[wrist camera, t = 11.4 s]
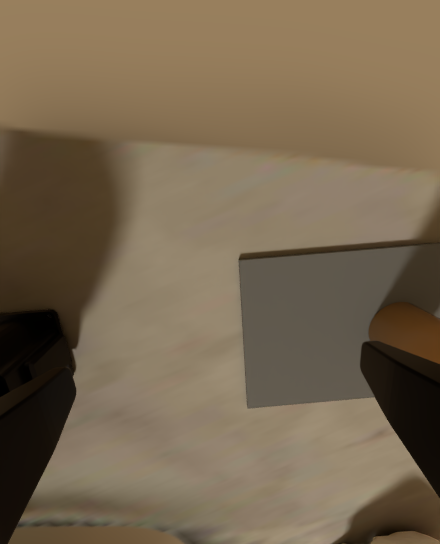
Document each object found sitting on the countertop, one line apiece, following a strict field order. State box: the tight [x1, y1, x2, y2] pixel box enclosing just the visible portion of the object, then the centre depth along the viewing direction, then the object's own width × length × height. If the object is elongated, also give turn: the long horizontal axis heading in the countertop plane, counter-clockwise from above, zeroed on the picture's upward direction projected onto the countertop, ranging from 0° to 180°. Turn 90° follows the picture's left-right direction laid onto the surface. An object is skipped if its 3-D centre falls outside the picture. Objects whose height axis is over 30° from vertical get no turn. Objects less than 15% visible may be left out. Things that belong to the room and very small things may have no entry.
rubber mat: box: [239, 243, 440, 408], centre depth 23 cm, size 18×14×1 cm
